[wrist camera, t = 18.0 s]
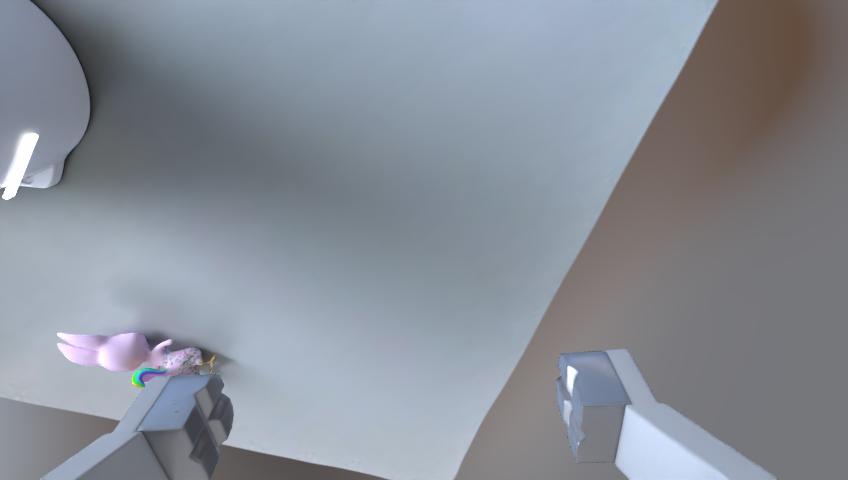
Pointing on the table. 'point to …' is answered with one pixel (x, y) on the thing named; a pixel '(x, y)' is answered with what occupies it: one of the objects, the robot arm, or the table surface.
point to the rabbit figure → (132, 355)
